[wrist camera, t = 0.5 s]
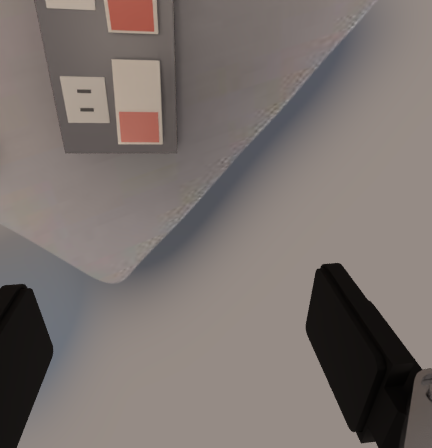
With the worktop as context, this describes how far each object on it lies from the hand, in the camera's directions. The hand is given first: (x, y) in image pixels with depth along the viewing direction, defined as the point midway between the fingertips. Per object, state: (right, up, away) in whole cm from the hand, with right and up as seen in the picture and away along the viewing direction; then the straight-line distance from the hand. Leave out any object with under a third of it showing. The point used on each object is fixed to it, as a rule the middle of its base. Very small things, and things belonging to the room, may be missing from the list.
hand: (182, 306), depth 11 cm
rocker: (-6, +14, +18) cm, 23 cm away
